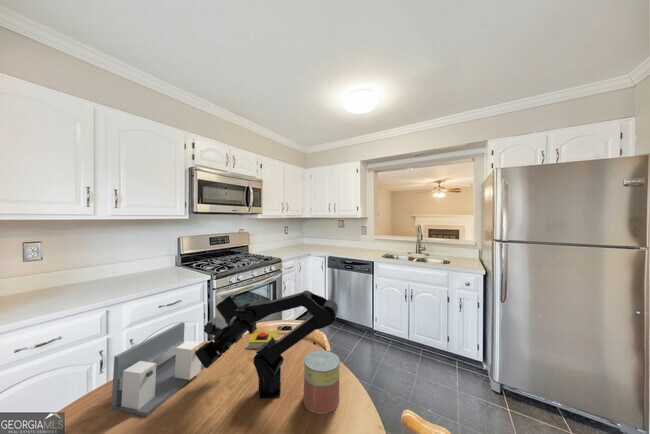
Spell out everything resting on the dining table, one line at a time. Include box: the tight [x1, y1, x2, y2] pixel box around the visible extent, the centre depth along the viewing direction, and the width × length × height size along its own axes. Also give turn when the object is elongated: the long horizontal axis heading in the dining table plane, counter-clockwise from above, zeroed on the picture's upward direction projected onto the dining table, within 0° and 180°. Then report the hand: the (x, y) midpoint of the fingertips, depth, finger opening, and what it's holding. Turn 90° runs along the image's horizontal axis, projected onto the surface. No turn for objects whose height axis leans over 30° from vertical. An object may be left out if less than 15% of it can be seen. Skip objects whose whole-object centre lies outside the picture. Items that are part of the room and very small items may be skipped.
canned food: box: [303, 349, 341, 415], centre depth 71 cm, size 11×11×12 cm
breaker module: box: [175, 340, 203, 381], centre depth 80 cm, size 7×5×10 cm
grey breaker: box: [121, 361, 156, 410], centre depth 68 cm, size 7×5×10 cm
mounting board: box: [110, 321, 205, 418], centre depth 77 cm, size 12×24×15 cm, turn 170°
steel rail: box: [118, 340, 185, 390], centre depth 77 cm, size 1×23×3 cm, turn 170°
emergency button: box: [245, 332, 278, 349], centre depth 105 cm, size 9×4×15 cm
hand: (205, 359), depth 79 cm, fingers closed
